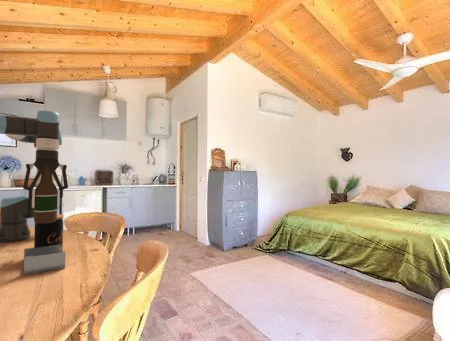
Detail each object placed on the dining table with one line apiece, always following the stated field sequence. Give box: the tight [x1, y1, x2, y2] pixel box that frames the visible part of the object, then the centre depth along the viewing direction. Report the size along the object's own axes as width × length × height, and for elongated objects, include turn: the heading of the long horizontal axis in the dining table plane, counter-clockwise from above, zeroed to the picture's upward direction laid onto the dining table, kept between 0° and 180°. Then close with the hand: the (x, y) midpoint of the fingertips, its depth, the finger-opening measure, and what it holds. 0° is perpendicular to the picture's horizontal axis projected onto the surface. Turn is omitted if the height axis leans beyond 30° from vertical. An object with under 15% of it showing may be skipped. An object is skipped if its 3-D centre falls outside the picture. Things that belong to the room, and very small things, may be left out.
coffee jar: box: [33, 213, 64, 251], centre depth 117 cm, size 11×11×18 cm
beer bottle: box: [33, 162, 58, 224], centre depth 105 cm, size 8×8×24 cm
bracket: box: [23, 244, 66, 276], centre depth 105 cm, size 13×13×6 cm
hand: (45, 206), depth 105 cm, fingers closed on beer bottle, 7 cm apart
